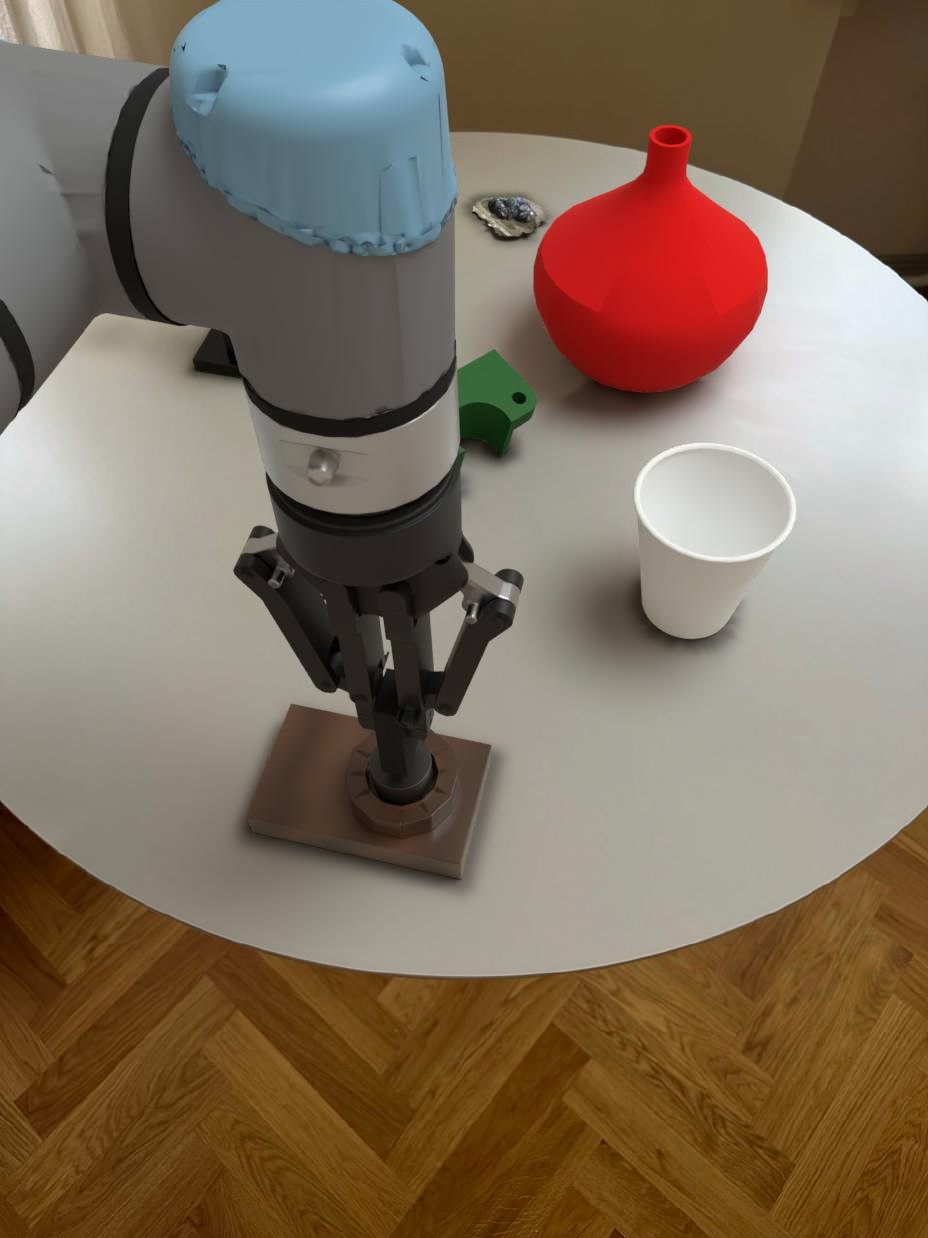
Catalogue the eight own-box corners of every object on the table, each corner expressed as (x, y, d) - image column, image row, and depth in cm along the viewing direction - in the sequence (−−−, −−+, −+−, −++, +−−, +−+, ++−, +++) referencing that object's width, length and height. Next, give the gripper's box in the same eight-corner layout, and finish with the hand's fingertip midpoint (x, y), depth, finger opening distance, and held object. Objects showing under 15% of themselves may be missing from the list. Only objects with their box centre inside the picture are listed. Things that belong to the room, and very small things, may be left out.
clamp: (435, 522, 83) (410, 487, 74) (390, 469, 84) (360, 429, 76) (550, 424, 83) (539, 378, 74) (502, 373, 84) (486, 322, 76)
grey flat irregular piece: (518, 249, 97) (519, 231, 96) (452, 219, 100) (452, 201, 99) (561, 216, 100) (562, 198, 99) (495, 188, 103) (495, 170, 102)
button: (363, 796, 60) (361, 782, 59) (381, 743, 62) (379, 728, 61) (423, 809, 60) (422, 795, 58) (439, 755, 62) (438, 740, 60)
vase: (758, 431, 82) (822, 213, 67) (527, 425, 83) (538, 208, 68) (735, 288, 93) (785, 72, 78) (531, 284, 94) (541, 69, 79)
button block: (252, 832, 63) (240, 802, 59) (295, 720, 67) (286, 687, 64) (461, 879, 61) (460, 852, 58) (491, 761, 65) (492, 729, 62)
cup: (785, 603, 72) (828, 495, 64) (701, 691, 68) (735, 589, 59) (671, 530, 76) (696, 419, 68) (585, 608, 72) (600, 501, 63)
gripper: (163, 495, 38) (269, 788, 57) (508, 555, 36) (499, 838, 55) (236, 364, 43) (312, 677, 62) (548, 412, 41) (527, 720, 60)
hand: (401, 753), depth 59 cm, fingers closed
